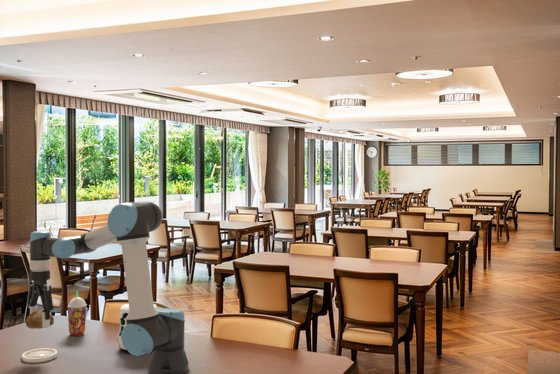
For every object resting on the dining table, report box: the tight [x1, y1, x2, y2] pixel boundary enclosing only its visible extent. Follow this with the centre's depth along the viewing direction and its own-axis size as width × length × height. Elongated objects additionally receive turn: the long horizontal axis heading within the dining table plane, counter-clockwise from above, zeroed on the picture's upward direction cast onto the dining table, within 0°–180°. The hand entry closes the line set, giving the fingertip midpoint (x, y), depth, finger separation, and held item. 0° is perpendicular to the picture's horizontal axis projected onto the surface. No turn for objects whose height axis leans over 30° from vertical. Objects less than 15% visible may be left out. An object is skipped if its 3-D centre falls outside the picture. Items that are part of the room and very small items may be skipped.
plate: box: [21, 347, 58, 364], centre depth 224 cm, size 13×13×2 cm
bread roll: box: [24, 309, 55, 330], centre depth 224 cm, size 10×10×8 cm
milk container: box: [116, 303, 158, 352], centre depth 237 cm, size 17×17×18 cm
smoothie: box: [67, 290, 88, 337], centre depth 256 cm, size 8×8×20 cm
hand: (39, 324), depth 224 cm, fingers closed on bread roll, 10 cm apart
